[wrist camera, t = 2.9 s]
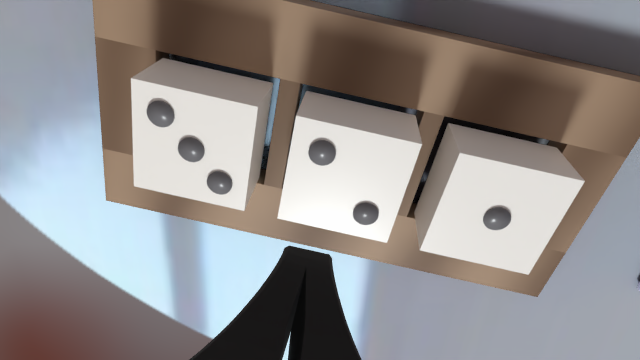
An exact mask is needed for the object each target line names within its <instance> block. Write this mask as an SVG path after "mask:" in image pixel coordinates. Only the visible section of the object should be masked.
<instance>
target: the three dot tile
mask: <svg viewBox="0 0 640 360" xmlns="http://www.w3.org/2000/svg"><path fill="white" fill-rule="evenodd" d="M272 88H273V83H271V82H267V81H262V80H258V79H254V78H249V77H245V76H240V75H236V74H232V73H227V72H223V71H218V70H214V69H210V68H205V67H201V66H196V65H192V64H188V63H183V62H179V61H175V60H170V59H166V58H162V59H161V60H159V61H157V62H156V63H154V64H153V65H151V66H149V67H148V68H146V69H145V70H143V71H141V72H140V73H138V74H137V75H135V76H133V77H132V78H131V100H132V137H133V173H134V186H135V187H139V188H144V189H148V190H153V191H157V192H162V193H166V194H171V195H175V196H180V197H184V198H189V199H193V200H197V201H202V202H206V203H211V204H215V205H220V206H224V207H229V208H233V209H238V210H242V211H245V208H246V206H247V204H248V202H249V199H250V197H251V195H252V193H253V191H254V188H255V186H256V184H257V182H258V179H259V177H260V170H261V163H262V156H263V149H264V143H265V136H266V129H267V122H268V115H269V109H270V102H271V95H272Z"/></svg>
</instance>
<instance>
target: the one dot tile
mask: <svg viewBox="0 0 640 360" xmlns="http://www.w3.org/2000/svg"><path fill="white" fill-rule="evenodd" d="M584 182H585V181H584V180H583V178H582V177H581V176H580V175H579V174H578V172H577V171H576V170H575V169H574V168H573V166H572V165H571V164H570V163H569V162H568V160H567V159H566V158H565V157H564V156H563V154H562V153H561V152H560V151H559V150H558V148H556V147H552V146H548V145H543V144H539V143H535V142H530V141H526V140H521V139H517V138H513V137H508V136H504V135H499V134H495V133H491V132H486V131H482V130H477V129H473V128H469V127H464V126H460V125H456V124H451V123H448V125H447V127H446V130H445V133H444V135H443V138H442V141H441V143H440V146H439V148H438V151H437V154H436V156H435V159H434V162H433V164H432V167H431V169H430V172H429V175H428V177H427V180H426V183H425V185H424V188H423V190H422V193H421V196H420V198H419V201H418V204H417V206H416V209H415V211H414V215H415V222H416V229H417V235H418V242H419V249H420V251H425V252H429V253H434V254H438V255H443V256H447V257H451V258H456V259H460V260H465V261H469V262H474V263H478V264H483V265H487V266H492V267H496V268H501V269H505V270H509V271H514V272H518V273H523V274H527V275H529V273H530V271H531V270H532V268H533V267H534V265H535V263H536V262H537V260H538V258H539V257H540V255H541V253H542V252H543V250H544V248H545V247H546V245H547V243H548V242H549V240H550V238H551V237H552V235H553V233H554V232H555V230H556V228H557V227H558V225H559V223H560V222H561V220H562V218H563V217H564V215H565V213H566V212H567V210H568V208H569V207H570V205H571V203H572V202H573V200H574V199H575V197H576V195H577V194H578V192H579V190H580V189H581V187H582V185H583V184H584Z"/></svg>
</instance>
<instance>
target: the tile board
mask: <svg viewBox="0 0 640 360" xmlns="http://www.w3.org/2000/svg"><path fill="white" fill-rule="evenodd" d="M93 14H94V29H95V44H96V58H97V73H98V88H99V103H100V117H101V132H102V147H103V161H104V176H105V191H106V200H107V201H111V202H116V203H120V204H125V205H129V206H134V207H138V208H142V209H147V210H151V211H156V212H160V213H165V214H169V215H174V216H178V217H183V218H187V219H192V220H196V221H201V222H205V223H209V224H214V225H218V226H223V227H227V228H232V229H236V230H241V231H245V232H250V233H254V234H259V235H263V236H268V237H272V238H277V239H281V240H285V241H290V242H294V243H299V244H303V245H308V246H312V247H317V248H321V249H326V250H330V251H335V252H339V253H344V254H348V255H352V256H357V257H361V258H366V259H370V260H375V261H379V262H384V263H388V264H393V265H397V266H402V267H406V268H411V269H415V270H419V271H424V272H428V273H433V274H437V275H442V276H446V277H451V278H455V279H460V280H464V281H469V282H473V283H478V284H482V285H486V286H491V287H495V288H500V289H504V290H509V291H513V292H518V293H522V294H527V295H531V296H536V297H538V295H539V294H540V292H541V290H542V289H543V287H544V286H545V284H546V283H547V281H548V280H549V278H550V276H551V275H552V273H553V272H554V270H555V269H556V267H557V265H558V264H559V262H560V261H561V259H562V258H563V256H564V255H565V253H566V251H567V250H568V248H569V247H570V245H571V244H572V242H573V240H574V239H575V237H576V236H577V234H578V233H579V231H580V230H581V228H582V226H583V225H584V223H585V222H586V220H587V219H588V217H589V215H590V214H591V212H592V211H593V209H594V208H595V206H596V205H597V203H598V201H599V200H600V198H601V197H602V195H603V194H604V192H605V190H606V189H607V187H608V186H609V184H610V183H611V181H612V180H613V178H614V176H615V175H616V173H617V172H618V170H619V169H620V167H621V165H622V164H623V162H624V161H625V159H626V158H627V156H628V155H629V153H630V151H631V150H632V148H633V147H634V145H635V144H636V142H637V140H638V139H639V137H640V76H638V75H633V74H629V73H625V72H620V71H616V70H611V69H607V68H603V67H598V66H594V65H590V64H585V63H581V62H577V61H572V60H568V59H564V58H559V57H555V56H551V55H546V54H542V53H538V52H533V51H529V50H525V49H520V48H516V47H512V46H507V45H503V44H498V43H494V42H490V41H485V40H481V39H477V38H472V37H468V36H464V35H459V34H455V33H451V32H446V31H442V30H438V29H433V28H429V27H425V26H420V25H416V24H412V23H407V22H403V21H399V20H394V19H390V18H385V17H381V16H377V15H372V14H368V13H364V12H359V11H355V10H351V9H346V8H342V7H338V6H333V5H329V4H325V3H320V2H316V1H312V0H93ZM169 53H170V54H174V55H179V56H183V57H187V58H192V59H196V60H201V61H205V62H209V63H214V64H218V65H222V66H227V67H231V68H236V69H240V70H244V71H249V72H253V73H258V74H262V75H266V76H271V77H275V78H280V85H279V91H278V98H277V104H276V111H275V117H274V124H273V130H272V136H271V143H270V149H269V156H268V162H267V169H266V170H265V169H261V170H260V177H259V179H258V182H257V184H256V186H255V188H254V191H253V193H252V195H251V197H250V199H249V202H248V204H247V206H246V208H245V211H242V210H238V209H233V208H229V207H224V206H220V205H215V204H211V203H206V202H202V201H197V200H193V199H189V198H184V197H180V196H175V195H171V194H166V193H162V192H157V191H153V190H148V189H144V188H139V187H135V186H134V173H133V137H132V100H131V78H132V77H133V76H135V75H137V74H138V73H140V72H141V71H143V70H145V69H146V68H148V67H149V66H151V65H153V64H154V63H156V62H157V61H159V60H161V59H162V58H166V59H169ZM303 84H306V85H310V86H315V87H319V88H323V89H328V90H332V91H337V92H341V93H345V94H350V95H354V96H358V97H363V98H367V99H372V100H376V101H380V102H385V103H389V104H394V105H398V106H402V107H407V108H411V109H416V110H418V111H417V114H416V119H417V124H418V128H419V133H420V137H421V141H422V146H421V149H420V152H419V155H418V157H417V160H416V163H415V166H414V169H413V171H412V174H411V177H410V180H409V183H408V185H407V188H406V191H405V194H404V197H403V199H402V202H401V205H400V208H399V211H398V213H397V216H396V219H395V222H394V225H393V227H392V230H391V233H390V236H389V239H388V241H387V243H385V242H380V241H376V240H371V239H367V238H362V237H358V236H353V235H349V234H345V233H340V232H336V231H331V230H327V229H322V228H318V227H313V226H309V225H304V224H300V223H295V222H291V221H287V220H282V219H278V218H277V217H278V212H279V206H280V201H281V195H282V190H283V184H284V179H285V173H286V168H287V163H288V157H289V152H290V146H291V141H292V135H293V130H294V124H295V119H296V115H297V112H298V109H299V103H300V98H301V92H302V87H303ZM444 116H446V117H451V118H455V119H459V120H464V121H468V122H473V123H477V124H481V125H486V126H490V127H494V128H499V129H503V130H508V131H512V132H516V133H521V134H525V135H530V136H534V137H538V138H543V139H547V140H550V141H549V143H548V146H552V147H556V148H558V150H559V151H560V152H561V153H562V154H563V156H564V157H565V158H566V159H567V160H568V162H569V163H570V164H571V165H572V166H573V168H574V169H575V170H576V171H577V172H578V174H579V175H580V176H581V177H582V178H583V180H584V181H585V182H584V184H583V185H582V187H581V189H580V190H579V192H578V194H577V195H576V197H575V199H574V200H573V202H572V203H571V205H570V207H569V208H568V210H567V212H566V213H565V215H564V217H563V218H562V220H561V222H560V223H559V225H558V227H557V228H556V230H555V232H554V233H553V235H552V237H551V238H550V240H549V242H548V243H547V245H546V247H545V248H544V250H543V252H542V253H541V255H540V257H539V258H538V260H537V262H536V263H535V265H534V267H533V268H532V270H531V271H530V273H529V275H527V274H523V273H518V272H514V271H509V270H505V269H501V268H496V267H492V266H487V265H483V264H478V263H474V262H469V261H465V260H460V259H456V258H451V257H447V256H443V255H438V254H434V253H429V252H425V251H420V249H419V242H418V235H417V229H416V222H415V215H414V211H415V209H416V206H417V204H416V203H412V202H413V199H414V196H415V193H416V191H417V188H418V185H419V183H420V180H421V177H422V175H423V172H424V169H425V167H426V164H427V161H428V159H429V156H430V153H431V151H432V148H433V145H434V142H435V140H436V137H437V134H438V132H439V129H440V126H441V124H442V121H443V118H444Z"/></svg>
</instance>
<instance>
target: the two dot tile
mask: <svg viewBox="0 0 640 360" xmlns="http://www.w3.org/2000/svg"><path fill="white" fill-rule="evenodd" d="M421 146H422V141H421V137H420V133H419V128H418V124H417V119H416V115H412V114H407V113H403V112H398V111H394V110H390V109H385V108H381V107H376V106H372V105H368V104H363V103H359V102H355V101H350V100H346V99H341V98H337V97H333V96H328V95H324V94H319V93H315V92H311V91H306V92H305V95H304V97H303V100H302V102H301V105H300V107H299V110H298V112H297V115H296V119H295V124H294V130H293V135H292V141H291V146H290V152H289V157H288V163H287V168H286V173H285V179H284V184H283V190H282V195H281V201H280V206H279V212H278V217H277V218H278V219H282V220H287V221H291V222H295V223H300V224H304V225H309V226H313V227H318V228H322V229H327V230H331V231H336V232H340V233H345V234H349V235H353V236H358V237H362V238H367V239H371V240H376V241H380V242H385V243H387V241H388V239H389V236H390V233H391V230H392V227H393V225H394V222H395V219H396V216H397V213H398V211H399V208H400V205H401V202H402V199H403V197H404V194H405V191H406V188H407V185H408V183H409V180H410V177H411V174H412V171H413V169H414V166H415V163H416V160H417V157H418V155H419V152H420V149H421Z"/></svg>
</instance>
